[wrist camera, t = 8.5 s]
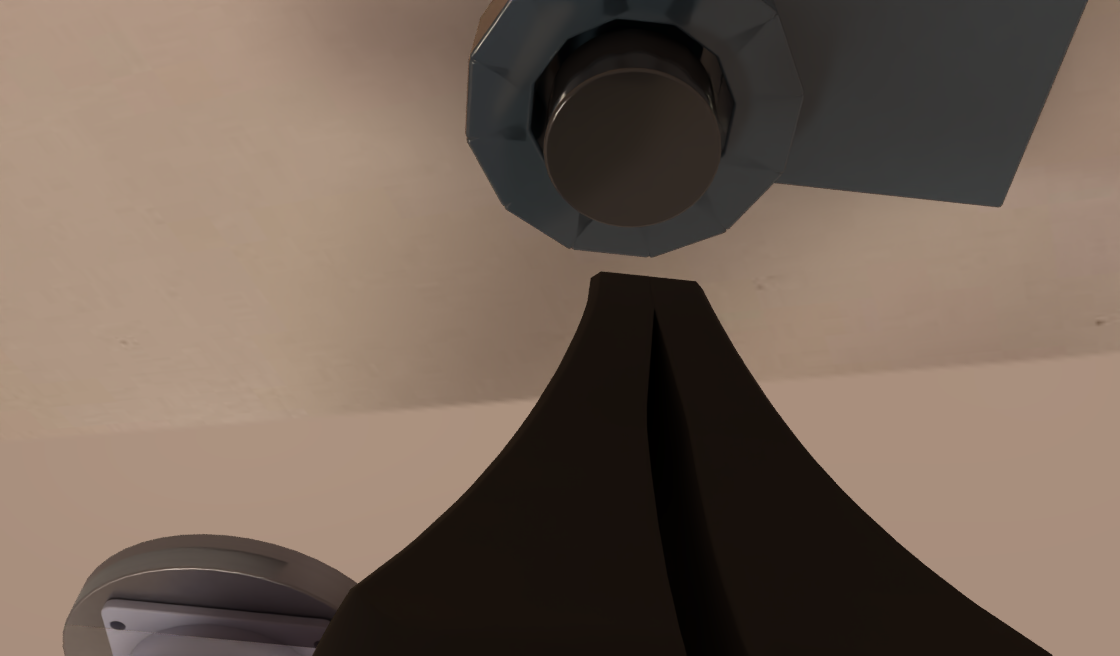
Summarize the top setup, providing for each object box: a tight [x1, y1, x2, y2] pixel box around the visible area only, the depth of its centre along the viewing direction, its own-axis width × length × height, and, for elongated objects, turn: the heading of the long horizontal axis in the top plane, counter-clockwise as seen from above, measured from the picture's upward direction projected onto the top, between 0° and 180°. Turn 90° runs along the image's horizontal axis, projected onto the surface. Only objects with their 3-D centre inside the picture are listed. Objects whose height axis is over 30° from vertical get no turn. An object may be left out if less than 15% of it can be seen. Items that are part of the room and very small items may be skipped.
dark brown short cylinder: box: [543, 29, 722, 228], centre depth 18 cm, size 3×3×2 cm
